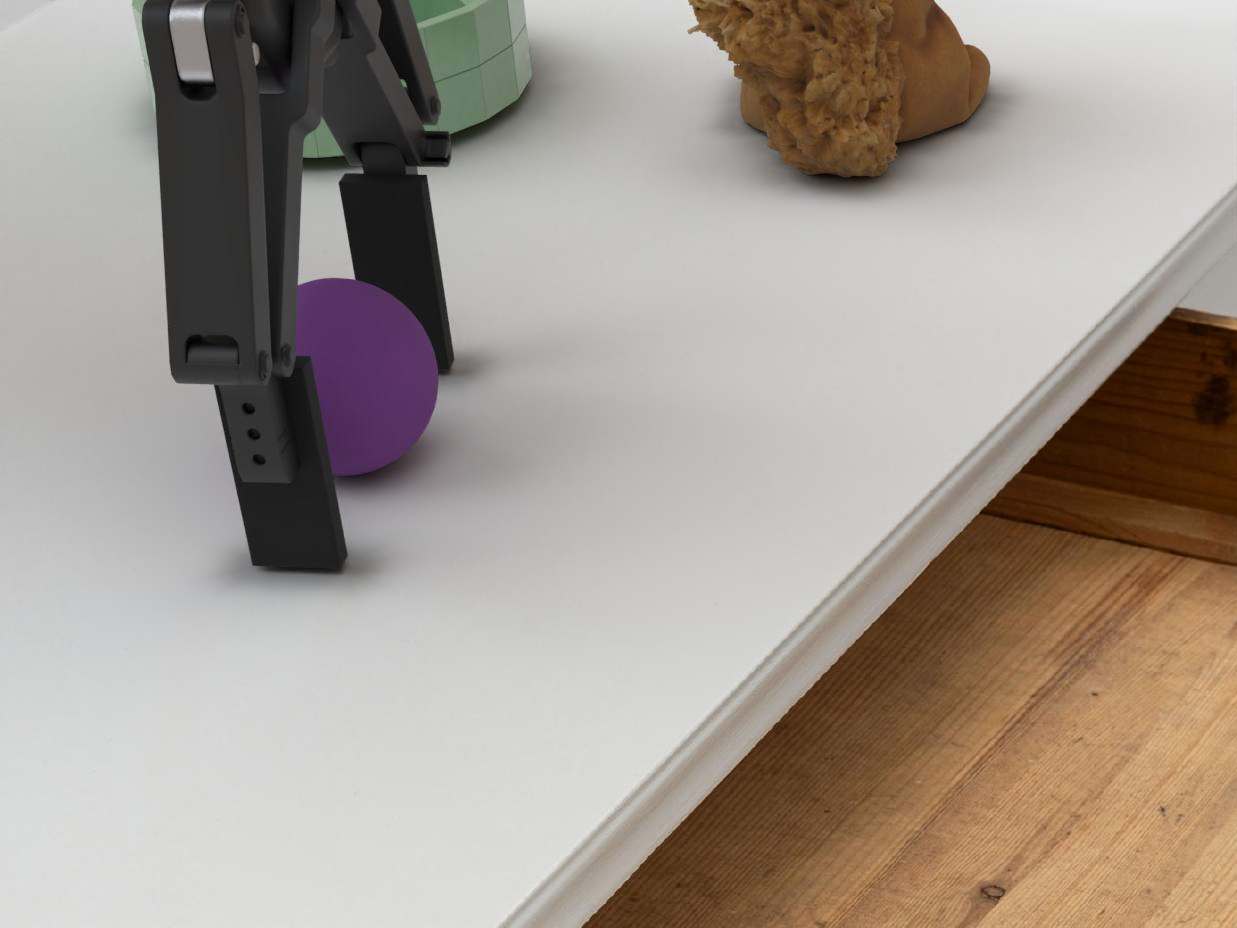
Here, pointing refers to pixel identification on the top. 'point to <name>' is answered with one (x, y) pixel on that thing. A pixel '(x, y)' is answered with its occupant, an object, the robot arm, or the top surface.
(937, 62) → the stuffed squirrel
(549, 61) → the top surface
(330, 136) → the bowl
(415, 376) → the ball
